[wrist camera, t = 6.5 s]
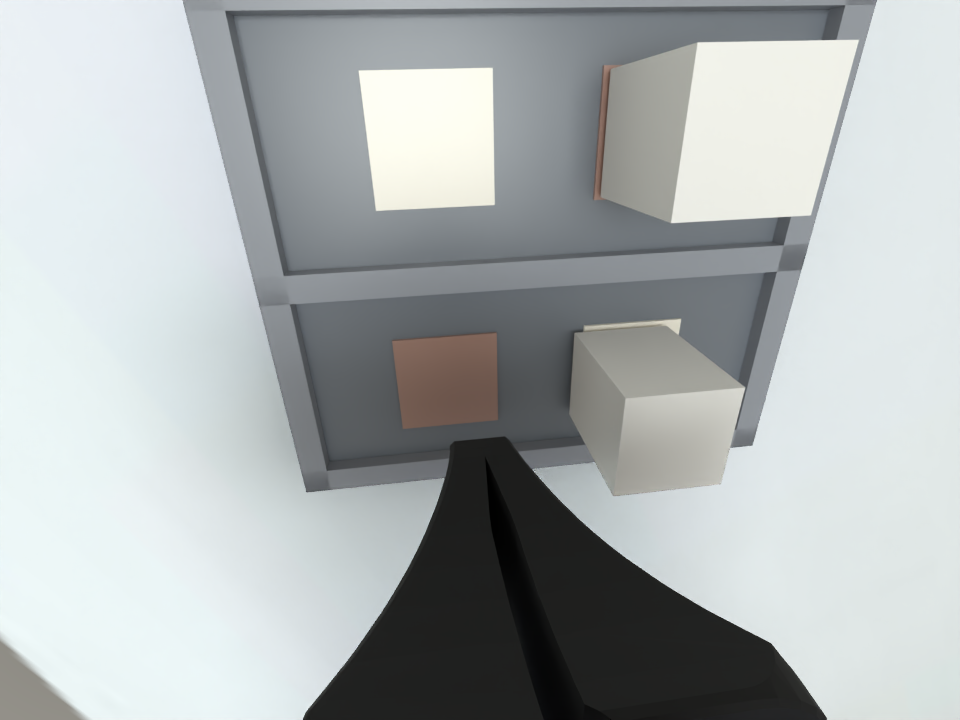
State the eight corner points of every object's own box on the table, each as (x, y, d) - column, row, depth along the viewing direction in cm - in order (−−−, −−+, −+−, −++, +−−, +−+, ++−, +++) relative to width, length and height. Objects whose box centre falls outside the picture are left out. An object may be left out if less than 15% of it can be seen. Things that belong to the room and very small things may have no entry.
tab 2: (653, 406, 16) (720, 484, 13) (569, 414, 16) (613, 496, 12) (666, 325, 15) (745, 387, 11) (574, 332, 15) (625, 398, 11)
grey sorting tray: (728, 422, 19) (752, 445, 17) (315, 463, 17) (306, 492, 16) (836, -19, 12) (887, -37, 11) (202, -17, 11) (172, -38, 10)
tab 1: (703, 191, 13) (810, 215, 10) (600, 196, 13) (671, 223, 9) (725, 66, 12) (859, 39, 8) (610, 69, 12) (697, 43, 8)
